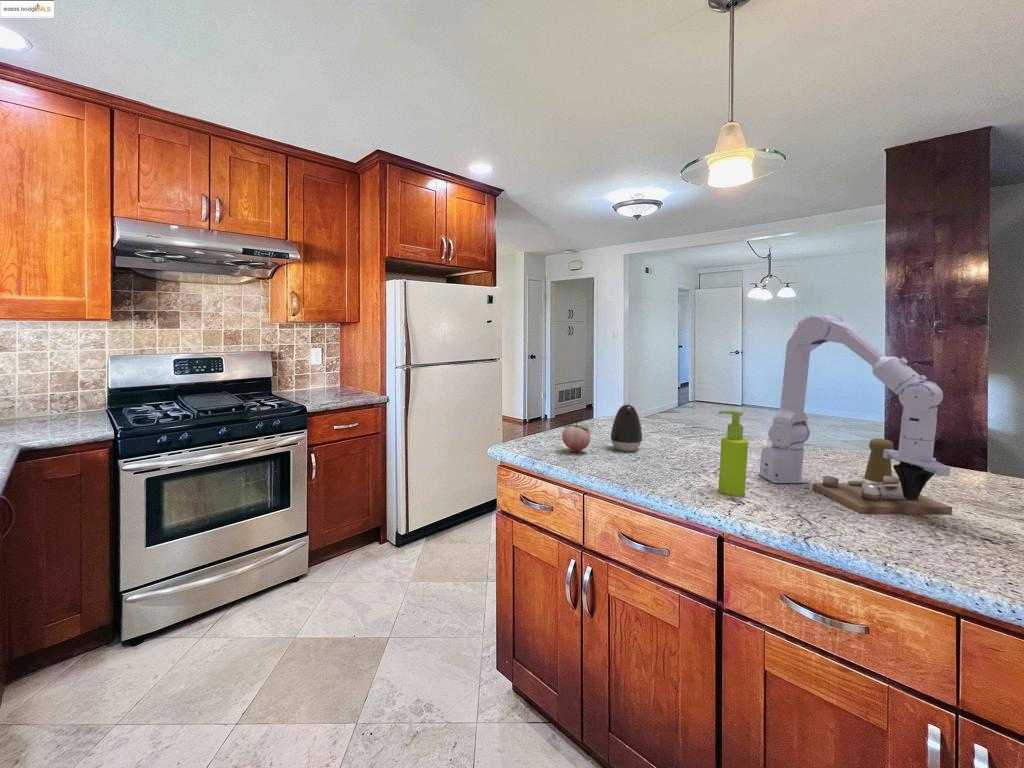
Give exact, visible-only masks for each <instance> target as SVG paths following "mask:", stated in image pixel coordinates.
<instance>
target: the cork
mask: <svg viewBox="0 0 1024 768" xmlns="http://www.w3.org/2000/svg"><path fill="white" fill-rule="evenodd" d="M868 447H869V450H870V454H869V457H868V462H867V465H866V468H865V469H866V470H865V473H864V477H865V478H866V479H865V478H864V477H863V478H864V479H865V480H867V479H868V481H870V480H871V482H874V481H875V482H874V483H880V482H883V476H893V474H892V473H893V472H892V459H890V458H884V457H883V453H884V449H892V450H895V449H894V443H893V441H891V440H889V439H886V438H872V439H870V441H869V443H868Z"/></svg>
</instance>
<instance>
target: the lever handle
mask: <svg viewBox="0 0 1024 768" xmlns="http://www.w3.org/2000/svg"><path fill="white" fill-rule="evenodd" d="M874 483H875V482H866V483H862V491H861V497H862V498H864V499H868V500H873V501H880V500H881V499H906V498H904V496H903V492H902V487H901V483H900V484H874ZM920 495H921V494H920ZM920 495H919V497H920ZM919 497H918V499H919Z"/></svg>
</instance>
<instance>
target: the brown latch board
mask: <svg viewBox="0 0 1024 768" xmlns="http://www.w3.org/2000/svg"><path fill="white" fill-rule="evenodd" d="M862 483H867V481H865V480H848V482H847V483H845V482H844V483H843V482H842V483H841V482H840V478H838V477H835V476H831V475H823V477H822V483H819V482H817V483H816V482H813V483H812V490H813V489H814V490H813V491H816V492H818V493H819V492H820V494H821V495H824V496H826V497H828V498H829V499H831V500H833V501H835V502H837V503H839V504H841V505H843V506H845V507H847V508H849V509H851V510H853V511H855V512H857V513H859V514H860V515H861V514H864V515H865V514H866V515H867V514H873V515H874V514H876V515H877V514H881V515H884V514H887V515H890V514H891V515H892V514H895V515H897V514H898V515H899V514H901V515H902V514H903V515H904V514H905V515H906V514H907V515H909V514H911V515H912V514H913V515H916V514H917V515H930V514H932V515H943V514H944V515H951V514H953V506H950V505H949V504H945V503H942V502H940V501H938V500H935V499H932V498H930V497H928V496H924V495H923V494H920V497H919V499H917V500H909V499H881V500H880V501H873V500H868V499H864V498H862V497H861V491H862ZM873 483H874V484H901V483H900V480H899V477H898V476H893V475H892V476H883V483H880V482H873Z"/></svg>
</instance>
